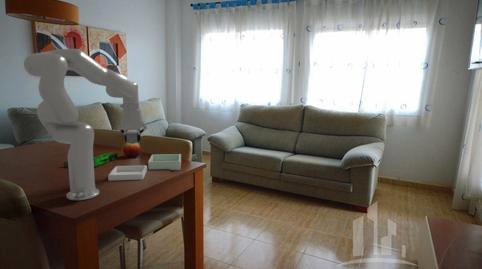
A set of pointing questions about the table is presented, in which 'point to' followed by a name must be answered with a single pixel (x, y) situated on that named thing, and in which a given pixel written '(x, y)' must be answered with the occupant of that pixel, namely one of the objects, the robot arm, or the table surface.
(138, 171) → the tub
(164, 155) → the bin
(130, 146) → the fruit
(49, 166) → the table surface
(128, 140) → the stone block
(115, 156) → the submachine gun
